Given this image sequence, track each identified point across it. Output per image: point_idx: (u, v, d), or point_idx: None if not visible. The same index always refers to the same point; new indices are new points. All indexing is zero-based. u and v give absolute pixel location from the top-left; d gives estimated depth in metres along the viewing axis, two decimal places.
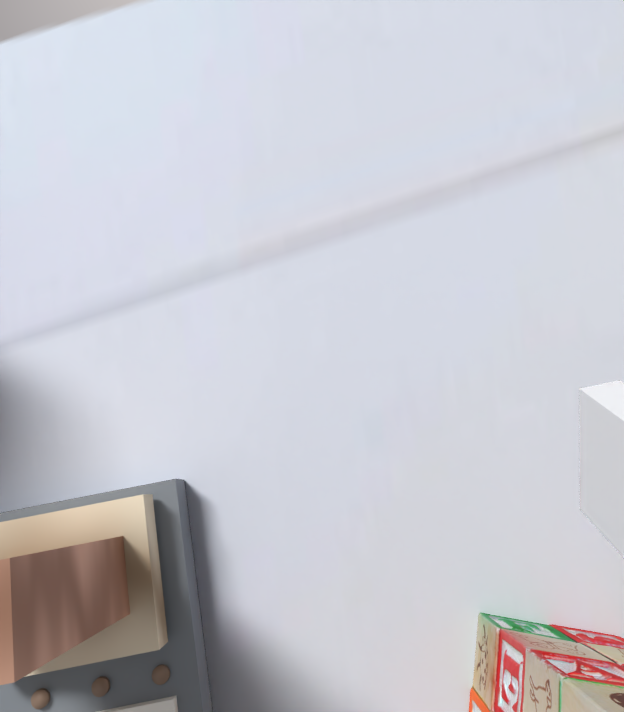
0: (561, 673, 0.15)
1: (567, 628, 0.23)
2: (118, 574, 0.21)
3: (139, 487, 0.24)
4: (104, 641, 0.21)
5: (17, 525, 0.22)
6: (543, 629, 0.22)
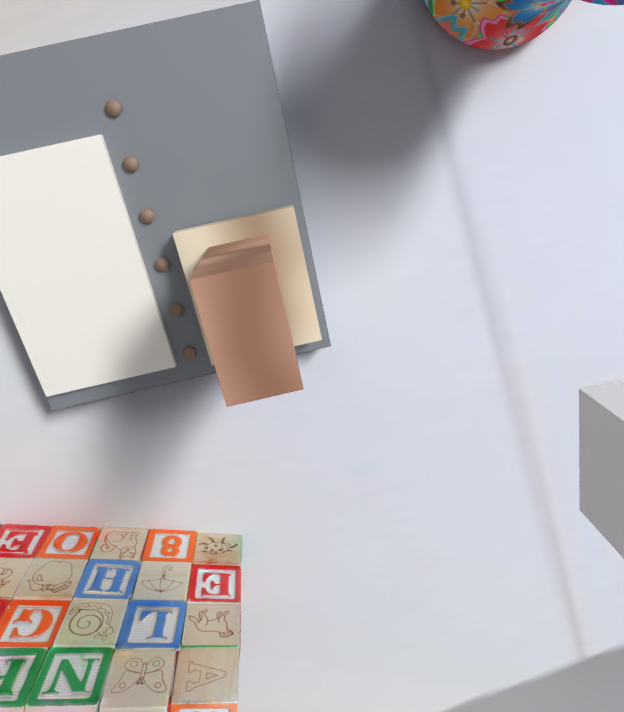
0: None
1: None
2: None
3: (324, 318, 0.29)
4: None
5: (295, 241, 0.26)
6: None
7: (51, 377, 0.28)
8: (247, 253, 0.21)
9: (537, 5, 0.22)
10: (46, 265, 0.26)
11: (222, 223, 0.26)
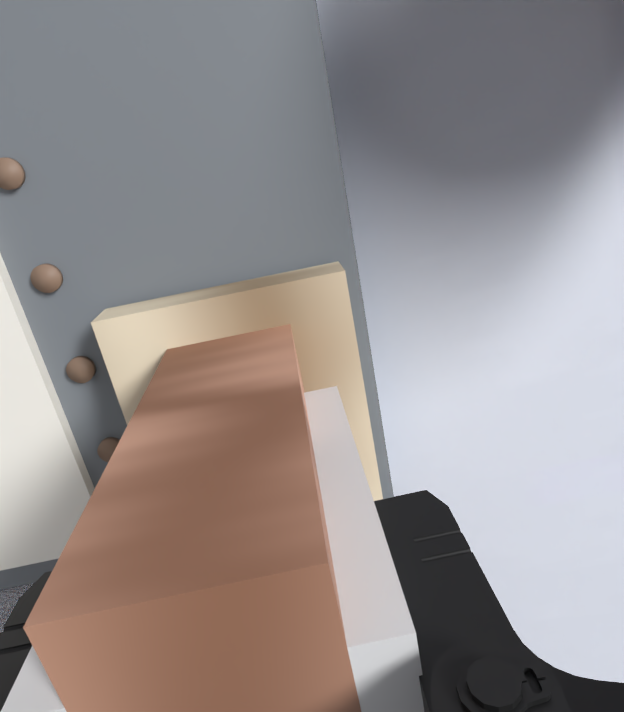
0: None
1: None
2: None
3: (385, 462, 0.16)
4: None
5: (345, 338, 0.13)
6: None
7: None
8: (242, 428, 0.08)
9: None
10: None
11: (195, 303, 0.12)
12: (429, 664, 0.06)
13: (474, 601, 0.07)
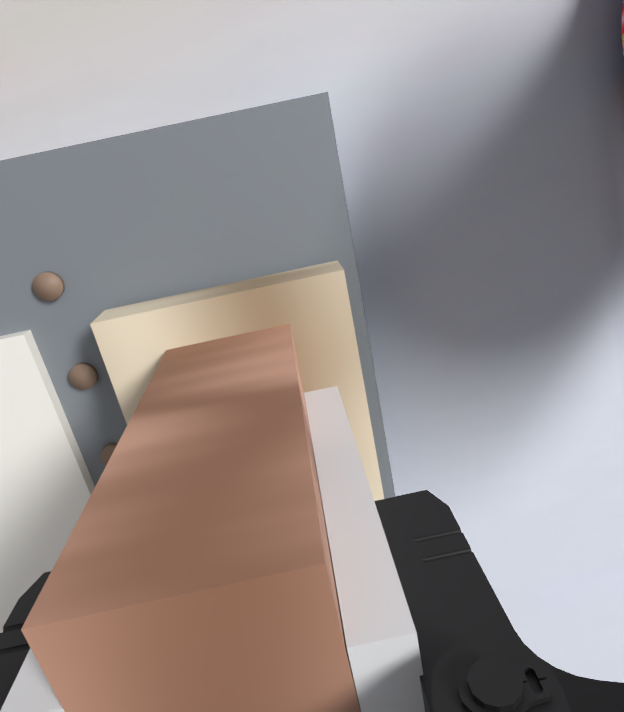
0: None
1: None
2: None
3: None
4: None
5: (344, 337, 0.13)
6: None
7: None
8: (240, 428, 0.08)
9: None
10: None
11: (194, 303, 0.12)
12: (430, 664, 0.06)
13: (475, 601, 0.07)
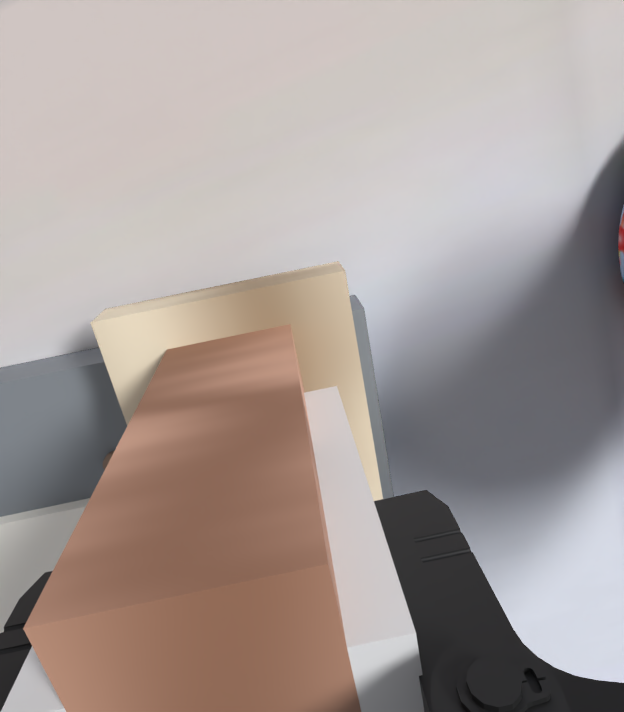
0: None
1: None
2: None
3: None
4: None
5: (345, 338, 0.13)
6: None
7: None
8: (242, 428, 0.08)
9: None
10: None
11: (195, 303, 0.12)
12: (429, 664, 0.06)
13: (474, 601, 0.07)
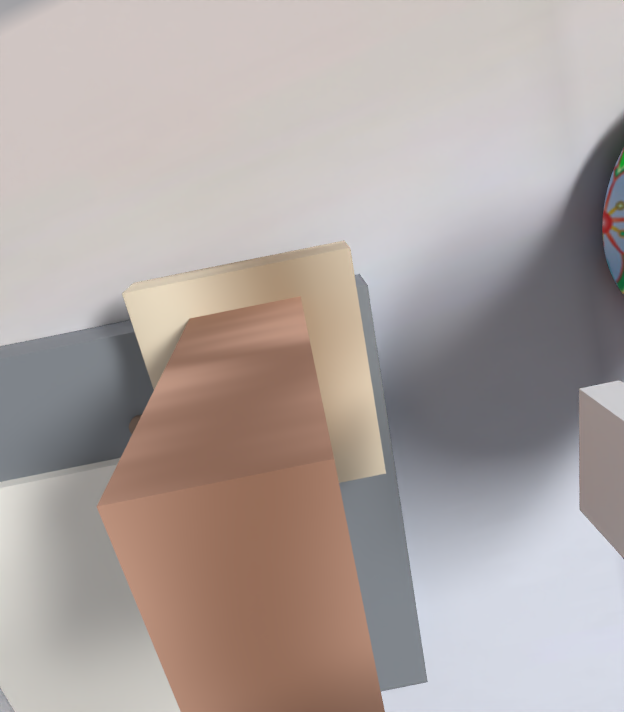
0: None
1: None
2: None
3: (421, 653, 0.21)
4: None
5: (350, 310, 0.14)
6: None
7: None
8: (261, 374, 0.10)
9: None
10: (39, 615, 0.19)
11: (215, 276, 0.14)
12: None
13: None
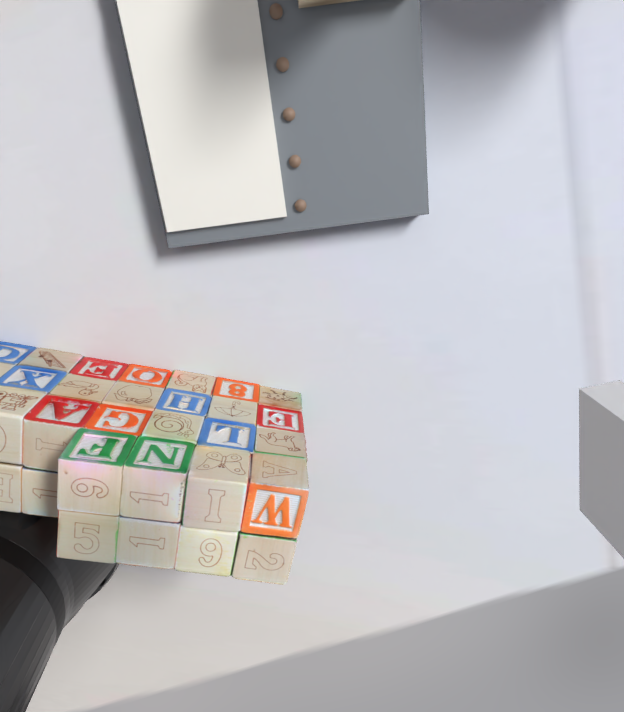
0: None
1: None
2: None
3: (426, 185, 0.32)
4: None
5: None
6: None
7: (174, 213, 0.31)
8: None
9: None
10: (187, 102, 0.29)
11: None
12: None
13: None
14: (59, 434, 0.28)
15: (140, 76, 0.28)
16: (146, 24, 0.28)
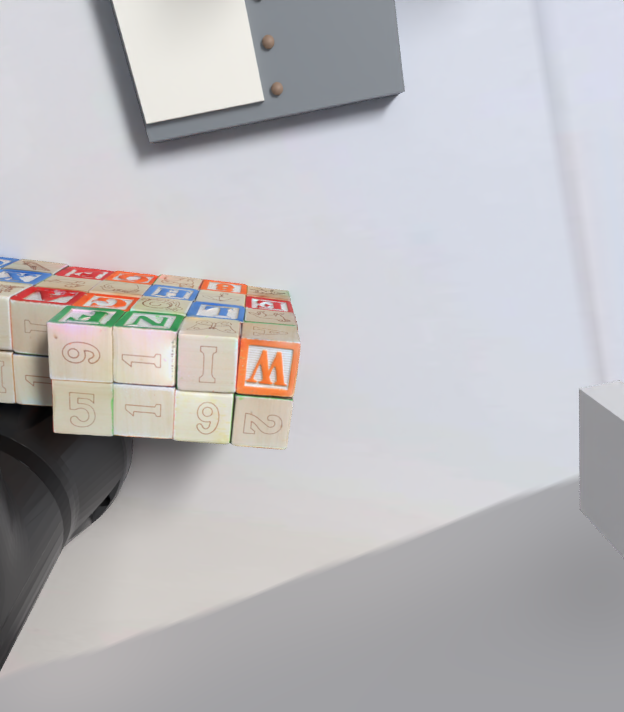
0: (297, 326, 0.30)
1: None
2: None
3: (400, 61, 0.32)
4: None
5: None
6: None
7: (152, 103, 0.31)
8: None
9: None
10: None
11: None
12: None
13: None
14: (47, 314, 0.28)
15: None
16: None
